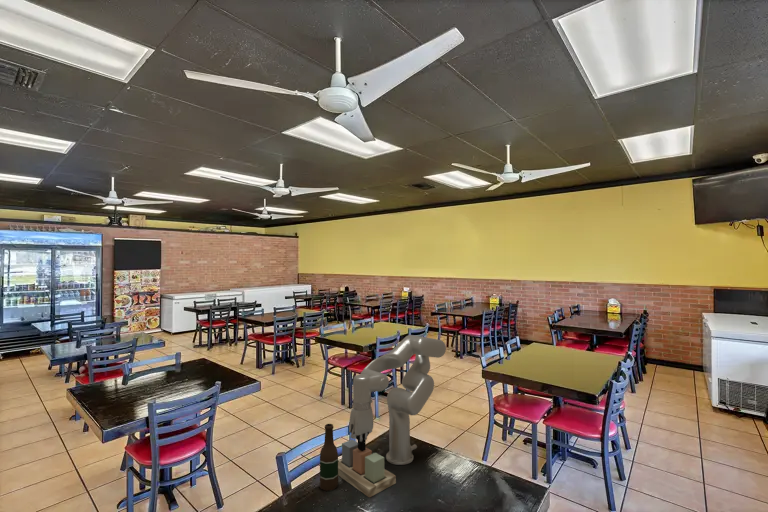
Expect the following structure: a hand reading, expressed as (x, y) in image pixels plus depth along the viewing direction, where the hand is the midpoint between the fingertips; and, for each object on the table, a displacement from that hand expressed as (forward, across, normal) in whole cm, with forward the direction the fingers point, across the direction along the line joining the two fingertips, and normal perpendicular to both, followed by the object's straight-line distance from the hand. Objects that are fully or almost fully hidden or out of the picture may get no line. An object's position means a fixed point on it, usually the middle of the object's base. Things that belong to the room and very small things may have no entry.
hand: (361, 449), depth 152 cm
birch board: (+11, 0, 0) cm, 11 cm away
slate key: (+8, 0, -8) cm, 12 cm away
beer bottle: (+12, +14, -4) cm, 18 cm away
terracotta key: (+8, 0, 0) cm, 8 cm away
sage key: (+8, 0, +8) cm, 12 cm away
